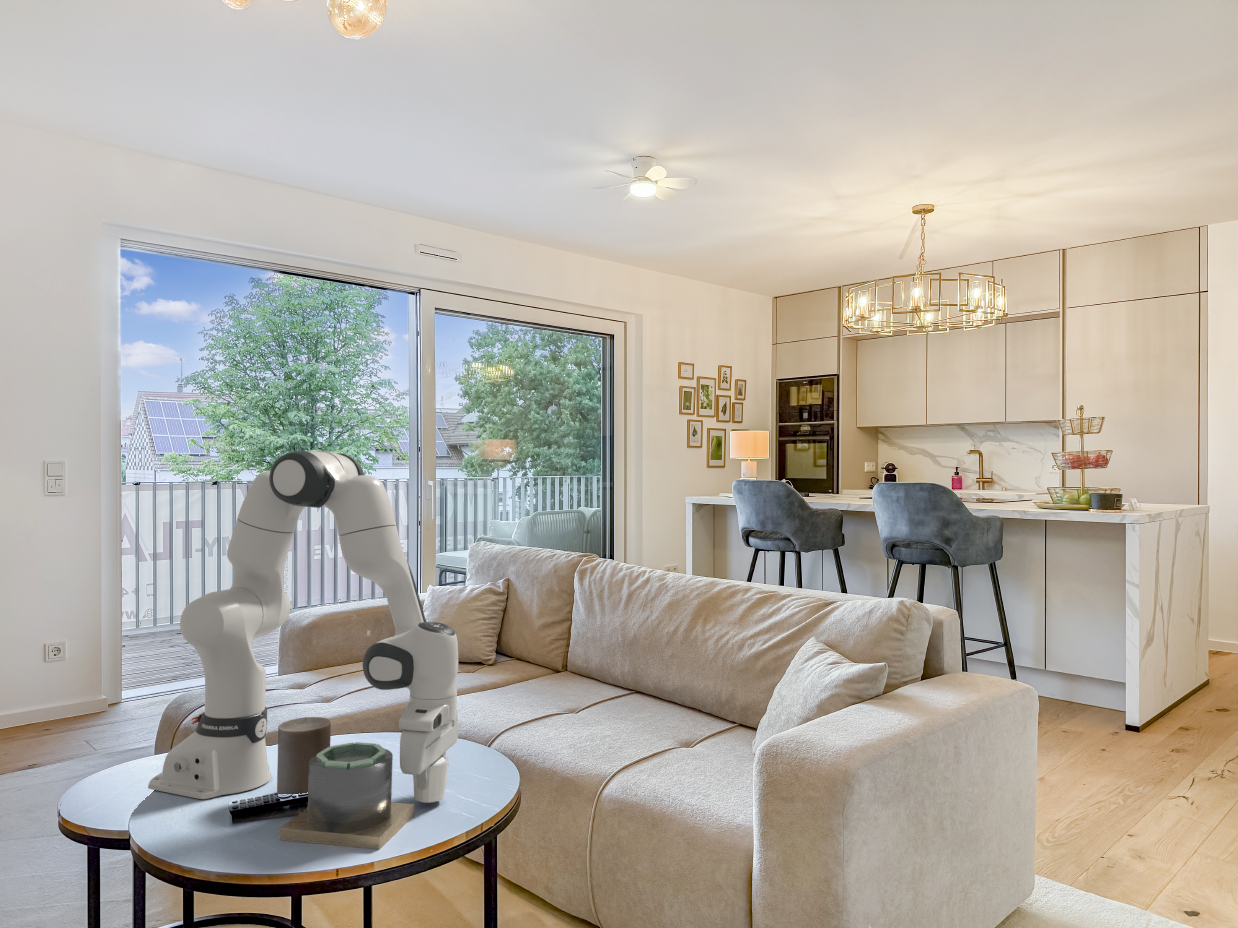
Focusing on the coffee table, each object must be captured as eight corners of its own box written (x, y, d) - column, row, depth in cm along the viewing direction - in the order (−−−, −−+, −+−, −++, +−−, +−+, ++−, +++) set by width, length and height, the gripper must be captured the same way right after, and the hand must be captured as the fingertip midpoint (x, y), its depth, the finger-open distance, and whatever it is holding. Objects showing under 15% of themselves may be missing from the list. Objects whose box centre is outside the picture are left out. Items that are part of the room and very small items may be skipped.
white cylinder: (438, 805, 147) (439, 767, 147) (404, 801, 148) (405, 763, 149) (453, 791, 154) (455, 755, 154) (420, 787, 155) (422, 751, 155)
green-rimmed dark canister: (279, 839, 134) (282, 762, 135) (322, 807, 148) (324, 736, 148) (379, 849, 131) (381, 769, 132) (414, 815, 145) (416, 743, 146)
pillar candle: (340, 788, 157) (341, 712, 158) (308, 806, 148) (310, 725, 149) (298, 783, 160) (299, 708, 161) (264, 801, 151) (266, 721, 151)
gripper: (437, 693, 162) (435, 761, 162) (394, 722, 142) (391, 800, 142) (467, 696, 161) (464, 764, 161) (428, 725, 141) (424, 803, 141)
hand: (429, 781), depth 151 cm, fingers closed on white cylinder, 5 cm apart
